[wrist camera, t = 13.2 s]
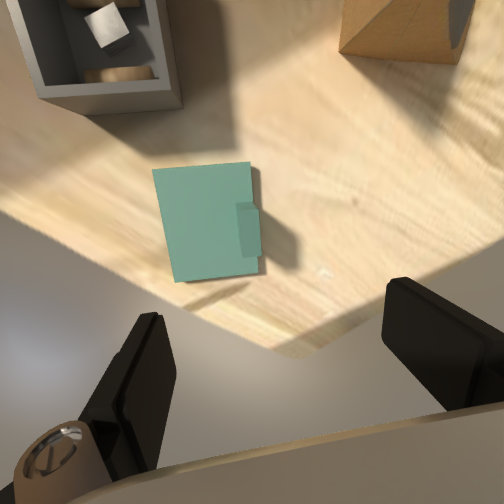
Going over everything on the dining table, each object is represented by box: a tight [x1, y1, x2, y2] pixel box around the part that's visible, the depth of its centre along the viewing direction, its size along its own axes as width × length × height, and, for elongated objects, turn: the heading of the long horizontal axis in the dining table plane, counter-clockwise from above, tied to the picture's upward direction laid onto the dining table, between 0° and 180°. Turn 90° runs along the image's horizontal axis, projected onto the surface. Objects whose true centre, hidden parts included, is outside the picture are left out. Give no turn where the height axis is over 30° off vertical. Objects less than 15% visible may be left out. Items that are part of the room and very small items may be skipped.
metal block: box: [84, 2, 137, 57], centre depth 23 cm, size 3×2×2 cm
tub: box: [6, 0, 183, 116], centre depth 21 cm, size 11×14×7 cm
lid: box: [152, 162, 262, 283], centre depth 28 cm, size 11×14×8 cm
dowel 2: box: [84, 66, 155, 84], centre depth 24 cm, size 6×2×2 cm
